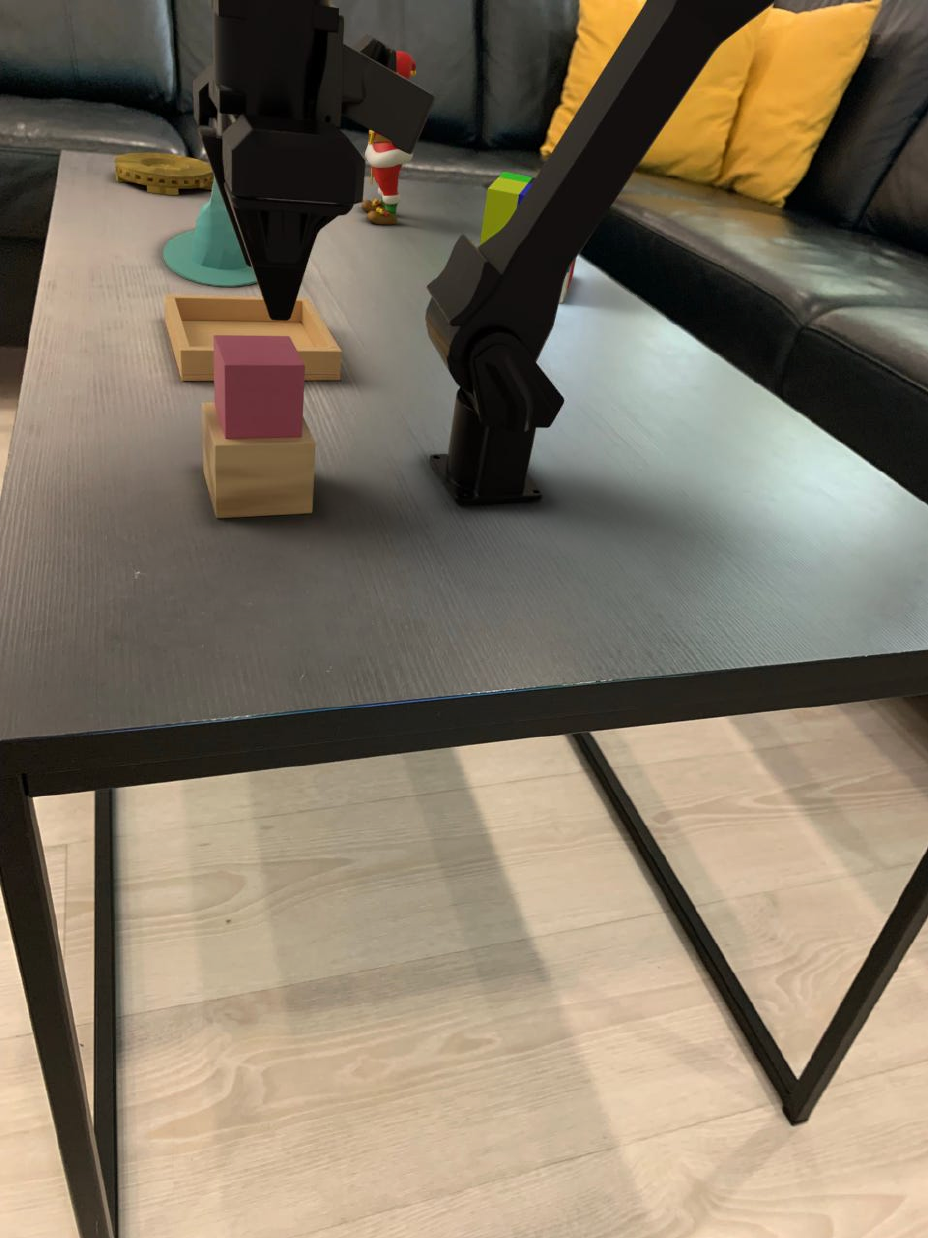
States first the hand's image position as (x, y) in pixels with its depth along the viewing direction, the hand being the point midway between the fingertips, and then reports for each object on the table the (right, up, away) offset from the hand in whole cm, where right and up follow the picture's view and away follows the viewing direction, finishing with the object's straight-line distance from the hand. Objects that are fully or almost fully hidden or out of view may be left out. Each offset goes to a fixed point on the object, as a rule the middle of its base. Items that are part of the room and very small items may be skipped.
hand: (266, 291), depth 55 cm
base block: (-2, -11, +6) cm, 13 cm away
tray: (-7, +4, +25) cm, 26 cm away
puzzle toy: (+18, +19, +52) cm, 59 cm away
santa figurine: (+1, +33, +66) cm, 74 cm away
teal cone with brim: (-14, +19, +45) cm, 50 cm away
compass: (-27, +37, +65) cm, 80 cm away
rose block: (-1, -7, +3) cm, 8 cm away
